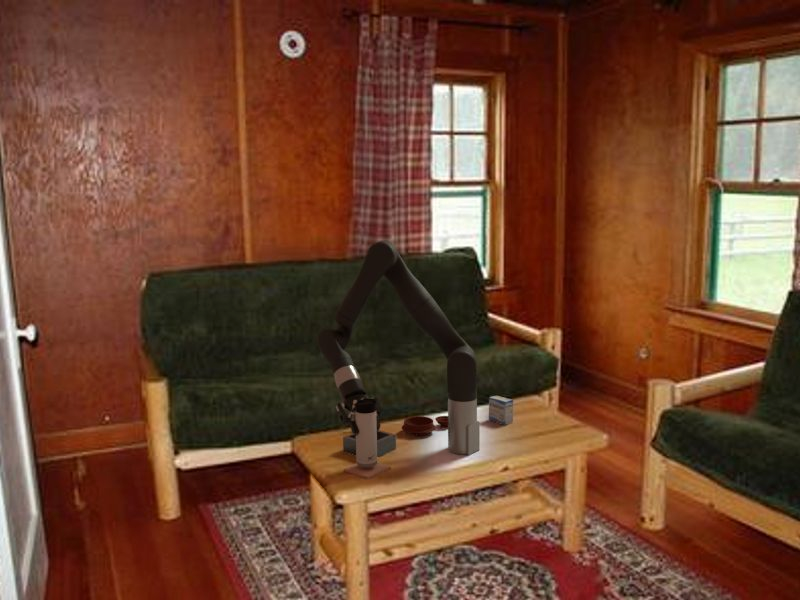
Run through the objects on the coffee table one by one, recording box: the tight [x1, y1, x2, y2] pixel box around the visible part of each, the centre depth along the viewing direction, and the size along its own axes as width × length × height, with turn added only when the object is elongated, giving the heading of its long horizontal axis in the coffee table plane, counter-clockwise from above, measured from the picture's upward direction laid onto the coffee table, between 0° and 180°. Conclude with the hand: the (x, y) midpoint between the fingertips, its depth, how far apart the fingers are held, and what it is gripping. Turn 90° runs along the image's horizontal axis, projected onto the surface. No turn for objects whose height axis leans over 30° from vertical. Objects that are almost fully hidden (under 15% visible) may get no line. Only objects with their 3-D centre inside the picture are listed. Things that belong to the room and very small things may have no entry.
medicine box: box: [488, 395, 514, 426], centre depth 257 cm, size 8×4×9 cm, turn 43°
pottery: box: [401, 415, 448, 437], centre depth 250 cm, size 12×20×4 cm, turn 122°
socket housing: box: [342, 429, 397, 458], centre depth 231 cm, size 12×12×5 cm
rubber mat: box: [343, 461, 392, 480], centre depth 216 cm, size 10×10×1 cm
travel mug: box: [354, 397, 378, 467], centre depth 215 cm, size 6×7×20 cm
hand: (367, 431), depth 214 cm, fingers closed on travel mug, 6 cm apart
